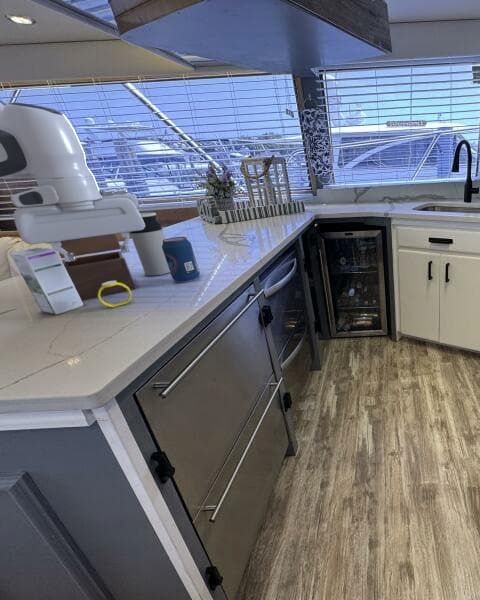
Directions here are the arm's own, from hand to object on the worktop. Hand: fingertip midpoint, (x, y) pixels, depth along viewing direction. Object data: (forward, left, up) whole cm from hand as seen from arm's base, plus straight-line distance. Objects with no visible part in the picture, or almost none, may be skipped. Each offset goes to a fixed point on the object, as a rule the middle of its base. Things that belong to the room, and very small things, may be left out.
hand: (100, 256), depth 73 cm
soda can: (+16, +10, -12) cm, 22 cm away
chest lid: (-3, +24, +3) cm, 24 cm away
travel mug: (+11, +25, -12) cm, 30 cm away
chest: (-3, +18, -12) cm, 22 cm away
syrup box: (-11, +8, -12) cm, 18 cm away
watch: (0, 0, -12) cm, 12 cm away
